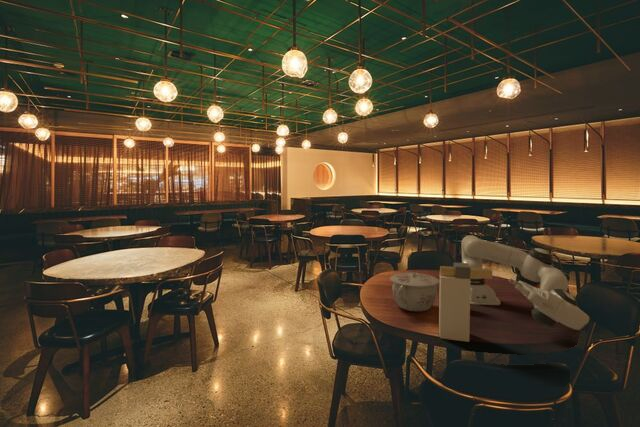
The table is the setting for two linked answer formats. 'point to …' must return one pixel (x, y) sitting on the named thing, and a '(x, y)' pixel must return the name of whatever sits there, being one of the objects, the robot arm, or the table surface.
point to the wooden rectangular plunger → (473, 272)
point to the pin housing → (455, 304)
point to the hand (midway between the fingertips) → (512, 283)
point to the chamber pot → (414, 291)
